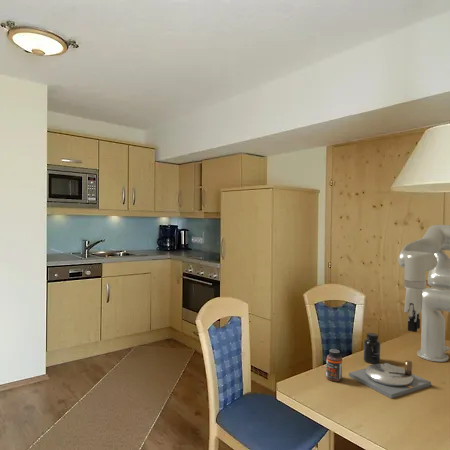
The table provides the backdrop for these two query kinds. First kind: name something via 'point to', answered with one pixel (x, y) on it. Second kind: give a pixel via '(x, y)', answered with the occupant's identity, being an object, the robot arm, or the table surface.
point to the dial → (391, 374)
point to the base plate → (389, 390)
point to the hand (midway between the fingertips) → (413, 329)
